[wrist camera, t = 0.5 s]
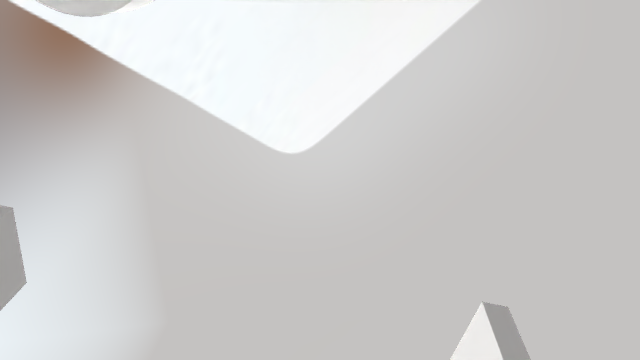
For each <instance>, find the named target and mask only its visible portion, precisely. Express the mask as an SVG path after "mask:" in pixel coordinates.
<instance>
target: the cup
mask: <svg viewBox="0 0 640 360" xmlns="http://www.w3.org/2000/svg"><path fill="white" fill-rule="evenodd" d="M36 1H38V2H39V3H41V4H43V5H45V6H47V7H49V8H51V9H54V10H56V11H59V12H62V13H65V14H70V15H75V16H89V17H91V16H100V15H106V14H111V13H120V12H128V11H133V10H136V9H139V8H141V7H143V6H145V5H148V4H150V3H151V2H153V1H154V0H36Z"/></svg>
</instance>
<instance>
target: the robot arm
mask: <svg viewBox="0 0 640 360" xmlns="http://www.w3.org/2000/svg"><path fill="white" fill-rule="evenodd" d="M25 284H26V277H25V271H24V266H23V260H22V255H21V250H20V244H19V239H18V234H17V229H16V222H15V217H14V212H13V208H11V207H6V206H1V205H0V310H1V309H2V308H3V307H4V306H5V305H6V304H7V303H8V302H9V301H10V300H11V299H12V298H13V297H14V295H15V294H16V293H17V292H18V291H19V290H20V289H21V288H22V287H23V286H24V285H25ZM450 360H530V357H529V355H528V353H527V351H526V348H525V346H524V343H523V341H522V339H521V336H520V334H519V332H518V329H517V327H516V325H515V323H514V320H513V318H512V315H511V313H510V311H509V308H508V307H505V306H500V305H495V304H490V303H485V302H482V303H481V305H480V307H479V309H478V310H477V312H476V314H475V316H474V318H473V319H472V321H471V323H470V325H469V327H468V328H467V330H466V332H465V334H464V336H463V337H462V339H461V341H460V343H459V344H458V346H457V348H456V350H455V352H454V353H453V355H452V357H451V359H450Z"/></svg>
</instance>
